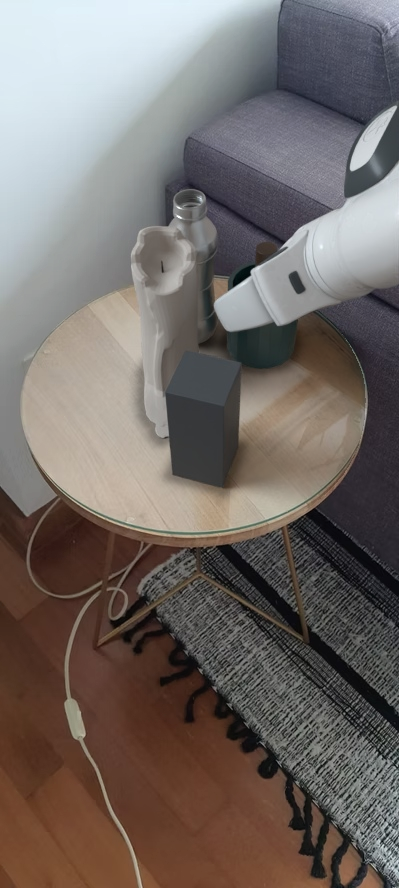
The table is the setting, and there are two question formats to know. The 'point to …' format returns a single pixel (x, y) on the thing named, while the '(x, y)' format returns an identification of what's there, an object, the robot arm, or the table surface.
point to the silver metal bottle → (199, 253)
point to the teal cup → (260, 336)
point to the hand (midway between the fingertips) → (260, 288)
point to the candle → (164, 311)
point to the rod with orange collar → (264, 251)
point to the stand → (204, 417)
